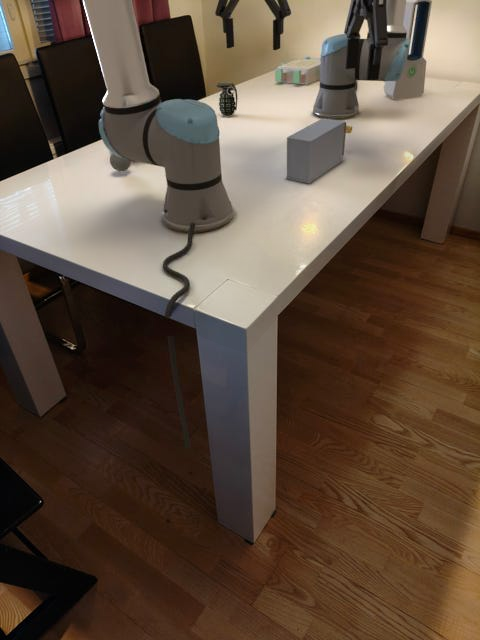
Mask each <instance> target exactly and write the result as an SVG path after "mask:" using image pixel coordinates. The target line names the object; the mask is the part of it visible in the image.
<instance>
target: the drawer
mask: <svg viewBox="0 0 480 640" xmlns="http://www.w3.org/2000/svg"><path fill="white" fill-rule="evenodd" d="M352 132H353V126H352V125H347V122H346V121H345V127H344V140H343V152H342V157H343V156H344V155H345V145H346V144H345V143H346V134H351V133H352Z"/></svg>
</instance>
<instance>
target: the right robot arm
mask: <svg viewBox="0 0 480 640" xmlns="http://www.w3.org/2000/svg"><path fill="white" fill-rule="evenodd" d="M405 7H406V0H350V5H349V9H348V13H347V18H346V21H345V26H344V30H343V33H341V34H336V35H332V36H329V37H327V38H326V39H324V40H323V41H322V43H321V51H320V52H321V53H320V55H319V56H320V57H319V58H321V68H320V79H319V88H318V89H319V90H318V93H317V95H316V98H315V101H314V104H313V109H312V114H313V116H315V117H317V118H320V119H322V118H324V119H331V120H346V119H351V118H354V117H356V116H357V115H359V112H360V105H359V100H358V96H357V95H358V94H357V90H358V81H366V82H369V81H370V82H383V83H385V81H396V80H398V79H399V78H400V77H401V75H402V72H403V69H404V66H405V63H406V59H407V56H408V52H409V53H410V48H411V44H412V39H411V40H410V39H409V38H407V39H406V36H407V31H406V29H405V28H404V26H403V21H404V14H405ZM365 20H366V22H367V29H368V31H367V34H366V35H367V36H366V38H362V37H361V33H360V32H361V29H362V27H363V24H364V21H365ZM409 47H410V48H409Z"/></svg>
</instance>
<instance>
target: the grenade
mask: <svg viewBox="0 0 480 640" xmlns="http://www.w3.org/2000/svg"><path fill="white" fill-rule="evenodd" d="M215 87H217V88H219V89H221V93H219V97H218V101H219V102H218V106H219V108H218V109H219V112H220V114H221V115H222V116H224V117H231V116H233V115H234V113H235V112H236V111H237V108H238V89H237V87H236V85H235V84H234V83H233V82H218V83H217V84H216V86H215ZM232 91H233V92H232ZM234 94H235V96H234Z"/></svg>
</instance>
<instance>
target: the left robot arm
mask: <svg viewBox="0 0 480 640" xmlns="http://www.w3.org/2000/svg"><path fill="white" fill-rule="evenodd" d="M263 1H264V2H265V3H266V5H267V7H268V8H269V10H270V11H271V13H272V14H273V16H274V19H273V20H272V51H278V50H280V49H281V35H283V34H284V31H285V30H284V28H285V27H284V23H285V22H284V20H285V18H287V17H289V16H291V15H292V11H291V10H292V9H291V8H290V5H289V3H288V0H263ZM239 2H240V0H218V1H217V5H216V9H215V12H214V13H215V16H217V17H219V18H221V20H222V32H223V34H225V40H226V43H225V44H226V49H232V48H234V47H235V36H234V18H233V17H232V16H231V15H233V12H234V10H235V9H236V7H237V6H238V4H239ZM82 3H83V7H84V10H85V14H86V17H87V21H88V25H89V28H90V32H91V36H92V39H93V43H94V47H95V51H96V54H97V58H98V61H99V65H100V68H101V69H100V70H101V72H102V77H103V80H104V83H105V88H106V93H105V95H104V96H103V98H102V106H103V108H102V109H101V111H100V113H99V116H100V119H98V131H99V135H100V139H101V141H102V143H103V144H104V146H105V148H106V149H108V151H109V152H110V153H111V154H112V153H113V154H115V155H116V156H119V157H122V158H124V159H127V160H129V161H131V162H138V163H142V164H148V165H151V166H157V167H162V168H163V169H164V173H165V180H166V190H165V191H166V192H165V196H164V203H163V207H162V218H163V222H164V224H165V226H167V227H168V228H169V229H171V230H173V231H177V232H180V233H188V234H187V242H186V245H185V246H184V247H183V248H182V249H181V250H179V251H177V252H175V253H173V254H170V255H169V256H167V257H166V258H164V260H163V261H162V269H163V271H164V272H165V273H167V274H169V275H171V276H173V277H175V278H177V279H179V280H181V281H182V282H183V283H184V285H183V287H182V288H180V289H179V290H177V291H176V292H175V293H174V294H173V295H172V296H171V297H170V298H169V300H168V303H167V304H166V308H165V314H164V317H165V319H169V318H171V316H172V312H173V311H172V310H173V307H174V305H175V303H176V302H177V301H178V299H180V298H181V297H182V296H184V295H185V294H186V293H187V292H188V291H189V290H190V287H191V283H190V280H189V278H188V277H187V276H186V275H184V274H182V273H181V272H178V271H177V270H174V269H172V268H170V267H169V263H170V262H172V261H173V260H176V259H177V258H179V257H182V256H184V255H185V254H186V253H188V252H189V251H190V250H191V248H192V245H193V237H194V234H195V233H196V234H197V233H205V232H206V233H207V232H210V231H215V230H216V229H220V228H222V227H224V226H226V225H227V224H228V223H230V221H231V220H232V218H233V216H234V212H233V211H234V210H233V205H232V201H231V200H230V197H229V195H228V192H227V190H226V187H225V184H224V182H223V175H222V174H223V173H222V161H221V159H222V158H221V143H220V129H219V128H220V127H219V124H218V116H217V113H216V111H215V109H213V108H212V106H211V105H209V104H207V103H205V102H203V101H199V100H195V99H189V98H188V99H187V98H186V99H182V98H174V99H168V100H165V101H163V102H162V99H161V95H160V91H159V89H158V88H157V87H155V85H152V83H150V78H149V74H148V73H149V72H148V70H147V64H146V61H145V55H144V51H143V46H142V42H141V41H142V40H141V37H140V31H139V28H138V23H137V18H136V14H135V9H134V4H133V0H82ZM174 339H175V338H174V335H169V336H167V342H168V353H169V359H170V367H171V373H172V374H171V375H172V380H173V386H174V392H175V397H176V403H177V408H178V412H179V419H180V423H181V427H182V435H183V439H184V445H185V449H187V450H189V449H191V448H192V447H191V439H190V434H189V430H188V424H187V419H186V413H185V408H184V401H183V397H182V391H181V384H180V379H179V372H178V364H177V357H176V348H175V340H174Z"/></svg>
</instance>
